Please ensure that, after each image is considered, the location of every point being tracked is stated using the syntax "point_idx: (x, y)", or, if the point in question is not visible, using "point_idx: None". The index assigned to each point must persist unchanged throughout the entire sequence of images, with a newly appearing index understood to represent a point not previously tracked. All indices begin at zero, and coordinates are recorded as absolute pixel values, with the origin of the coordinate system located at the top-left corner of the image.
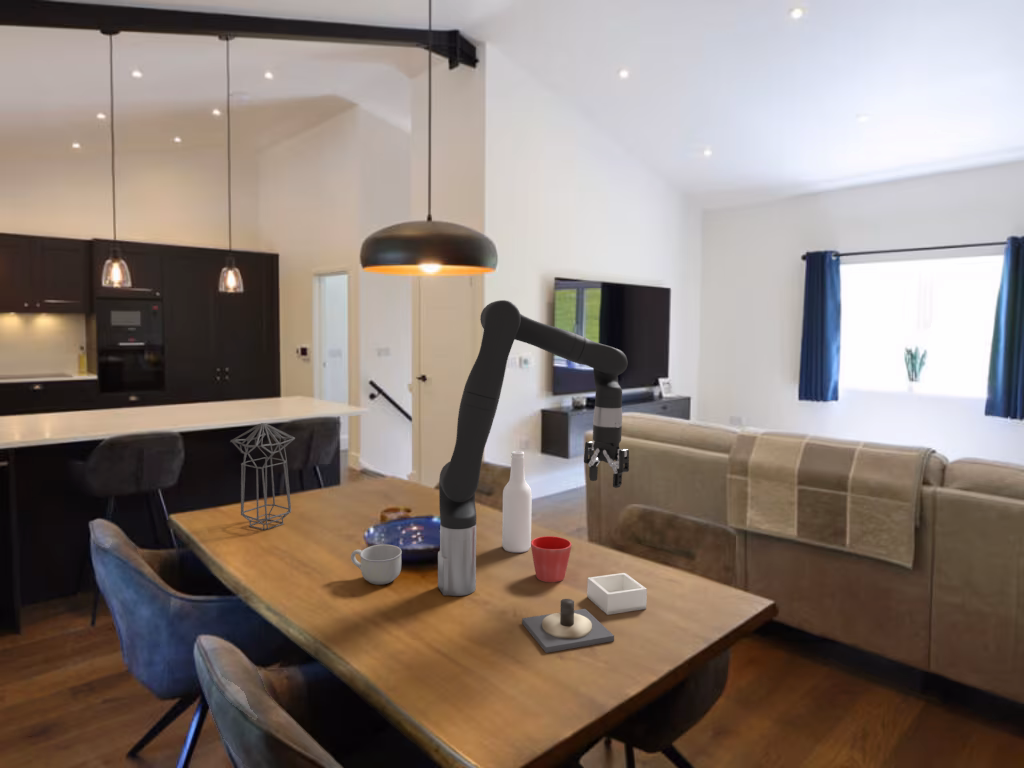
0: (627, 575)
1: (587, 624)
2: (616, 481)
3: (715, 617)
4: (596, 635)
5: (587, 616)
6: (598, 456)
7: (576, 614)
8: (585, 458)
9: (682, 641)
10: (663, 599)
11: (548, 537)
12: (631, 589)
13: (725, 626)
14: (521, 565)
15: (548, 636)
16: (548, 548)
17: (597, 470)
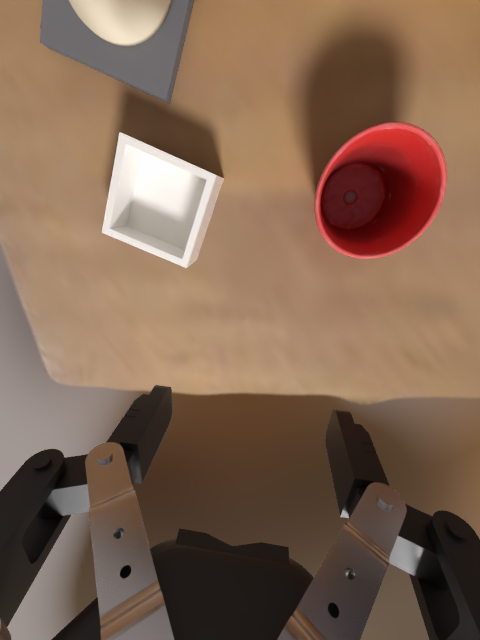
0: (172, 260)
1: (87, 10)
2: (138, 411)
3: (48, 288)
4: (55, 3)
5: (134, 69)
6: (297, 598)
7: (138, 33)
8: (472, 562)
9: (2, 167)
10: (135, 285)
11: (416, 231)
12: (157, 242)
13: (19, 272)
14: (452, 194)
15: None
16: (399, 225)
17: (336, 490)
